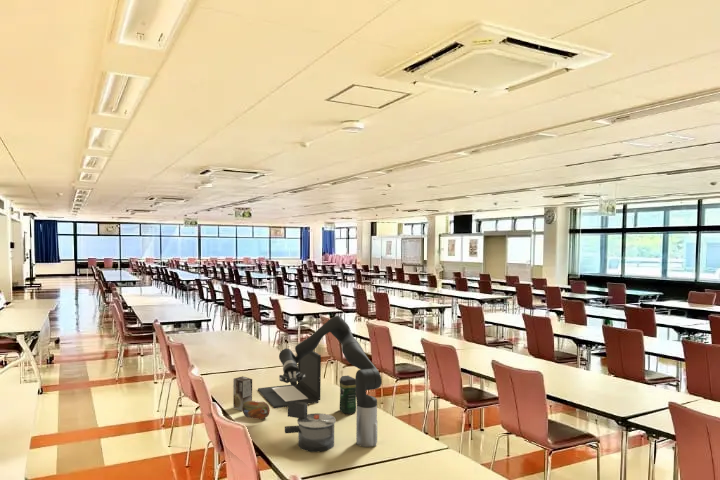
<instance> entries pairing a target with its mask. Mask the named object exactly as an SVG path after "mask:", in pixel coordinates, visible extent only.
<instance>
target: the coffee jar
mask: <svg viewBox="0 0 720 480" xmlns="http://www.w3.org/2000/svg"><path fill="white" fill-rule="evenodd" d="M339 411H340V412H341V413H343V414H348V415H349V414H354V413H357V400H356V381H355V378H354V377H352V376H350V375H341V377H340V378H339Z"/></svg>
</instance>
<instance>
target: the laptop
mask: <svg viewBox="0 0 720 480" xmlns="http://www.w3.org/2000/svg"><path fill="white" fill-rule="evenodd" d="M321 358H322V355H321V354H319V353H317V352H315V350H313V351H312V352H310V353H309V354H307V355H306V356H304V357H303V358H302V359H301V360H300V361H299V362H298V363H297V365H298V368H299V372H301V373H303V372H305V378H304V379H303V380H301V381H300V382H298V381H297V384H296V385H295V386H292V385H291V384H285V385H284V384H283V385H276V386H267V387H266V386H265V387H259V388H257V391H258V393H259V394H260V395H261V396H263V398H264V399H265V400H266V401H267V402H268V403H269V404H270V405H271V406H272V408H273V409H278V408H279V409H280V408H288V402H289V401H298V402H305V403H307V405H311V404H316V403H319V401H321V385H322V384H321V382H322V381H321V376H322V375H321V374H322V372H321V371H322V370H321V369H322V368H321V367H322V359H321Z"/></svg>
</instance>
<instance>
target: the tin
mask: <svg viewBox="0 0 720 480" xmlns="http://www.w3.org/2000/svg"><path fill="white" fill-rule="evenodd" d="M270 409H271V408H270V406H269V404H268V403H267V402H265V401H258V400H257V401H256V400H252V401H247V402H245V403H244V405H243V408H242V410H243V411H242V413H243V415H244V416H245V417H246V418H248V419H257V420H264V419H266V418H268V417H269V415H270V413H271V410H270Z"/></svg>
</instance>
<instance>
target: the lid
mask: <svg viewBox="0 0 720 480" xmlns="http://www.w3.org/2000/svg"><path fill="white" fill-rule="evenodd" d="M287 417H288V418H295V419H297V420H296V421H297V424H298V426H299V425H300V426H303V427H306V428H325V427H329V426H331V425H333V424H334V425H335V424H336V420H337V419H336V417H335V416H333V415H331V414H326V413H318V412H317V413H309V414H308V404H307V403H305V402H298V401H289V402H288V407H287Z"/></svg>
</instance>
